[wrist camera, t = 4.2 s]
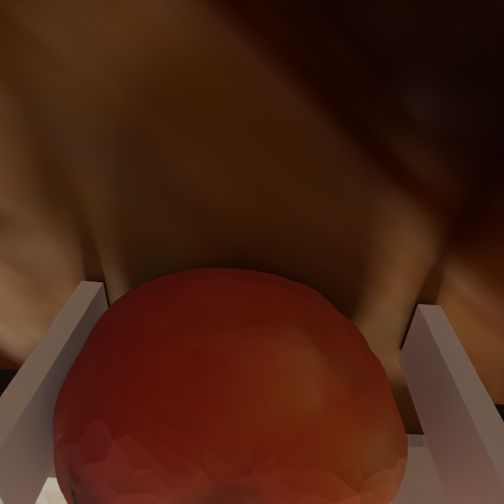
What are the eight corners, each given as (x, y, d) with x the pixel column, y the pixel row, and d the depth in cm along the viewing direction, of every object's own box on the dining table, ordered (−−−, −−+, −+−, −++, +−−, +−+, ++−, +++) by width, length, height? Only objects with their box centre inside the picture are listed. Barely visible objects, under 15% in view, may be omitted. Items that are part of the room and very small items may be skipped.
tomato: (414, 351, 15) (530, 640, 8) (226, 432, 18) (197, 686, 11) (270, 159, 11) (263, 393, 4) (66, 303, 14) (-116, 564, 8)
